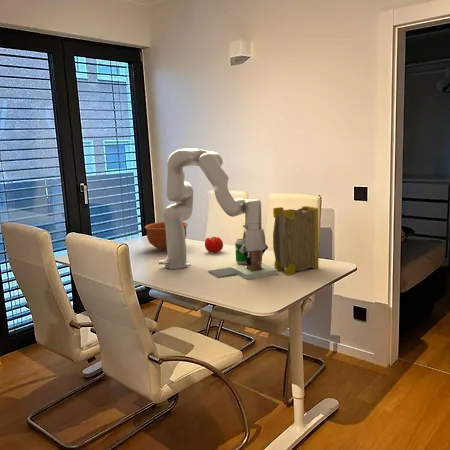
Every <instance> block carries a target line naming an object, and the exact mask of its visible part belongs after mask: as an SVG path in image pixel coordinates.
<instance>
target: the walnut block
mask: <svg viewBox="0 0 450 450" xmlns="http://www.w3.org/2000/svg"><path fill="white" fill-rule="evenodd" d="M250 258H251V266H249V265H247V264H246V266H247V269H248V270H250V271H252V272H253V271H259V270H262V269H261V251H253V252H251V254H250Z"/></svg>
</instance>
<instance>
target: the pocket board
mask: <svg viewBox="0 0 450 450" xmlns="http://www.w3.org/2000/svg"><path fill="white" fill-rule="evenodd" d="M232 268H233V271H235V272H236V273H238V276H240V277H242V278H244V279H246V280H250V279H256V278H261V277H268V276H273V275H274V276H275V275H278V270H277V269H275V267H272V266H270V265H267V264H265V263H262V264H261V269H262V270H259V271H253V272H252V271H250V270H248V269H247V265H245V266H239V267H232Z"/></svg>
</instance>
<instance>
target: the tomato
mask: <svg viewBox="0 0 450 450" xmlns="http://www.w3.org/2000/svg"><path fill="white" fill-rule="evenodd" d="M204 247H205V249H206V251H207V252H209V253H210V254H217V253H219V252H220V251H222V250H223V248H224V242H223V240H222V238H221V237H219V236H212V237H211V236H210V237H207V238H205V240H204Z"/></svg>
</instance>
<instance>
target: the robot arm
mask: <svg viewBox="0 0 450 450" xmlns="http://www.w3.org/2000/svg"><path fill="white" fill-rule="evenodd" d="M193 166H195V167H199V168H200V169H201V171H202V173H203V174H204V176H205V177H206V178H207V180H208V181H209V183H210V184H211V186H212V187H213V191H214V192H213V193H214V196H215V198H216V201H217V203H218V205H219V206H220V208H221V210H223V212H224V213H225V214H226V215H227V216H229V217H235V218H236V217H238V216H240V215H243V214H244V217H245V219H244V222H245V223H244V224H243V225H242V227H243V234H242V235H243V236H242V239H243V245H242V247H241V248H240V250H239V251H240V252H241V253H243V254H244V255H245V256H246V264H245V265H246V266H247V265H249V266H251V258H250V254H251V252H253V251H261V264H262V262H263V256H264V253H266V251H267V250H268V248H269V246H268V245H267V244H266V243H267V242H266V235H265V231H264V228H263V226H262V222H263V221H262V219H263V218H262V201H261V200H260V199H256V198H255V199H253V198H252V199H248V198H242V197H238V198H234V197H233V196H232V194H231V193H230V191H229V187H228V183H229V176H228V174H227V173H226V171H225V170H224V169H223V167H222V166H223V157H222V156H221V155H220V153H218V152H217V151H216V152H215V151H210V150H204V149H202V148H201V149H200V148H195V147H194V148H193V147H192V148H191V147H190V148H181V149H176V150H175V151H173V152H172V153H170V155H169V156H168V159H167V164H166V167H167V172H166V173H167V176H166V197H167V198H166V199H168V201H170V202H172V203H173V204H169V205H168V206H166V207H165V208H164V209H163V211H162V212H163V213H162V219H163V222H164V223H165V229H166V241H167V251H166V253H167V254H166V255H167V256H166V257H165V258H164V259H163V260H158V265H164V267H165V268H166V269H168V268H169V270H180V269H186V268H189V267H190V266H191V263H190V261H187V247H186V246H187V245H186V239H185V230H184V226H183V224H182V222H185V221H187V220H189V219H190V218H191V216H192V214H193V210H194V209H193V207H194V189H193V186H192V185H191V183H190V182H188V181H186V180H185V178H186V177H185V174H186V173H185V170H184V168H185V167H193ZM244 250H246V252H244Z"/></svg>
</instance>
